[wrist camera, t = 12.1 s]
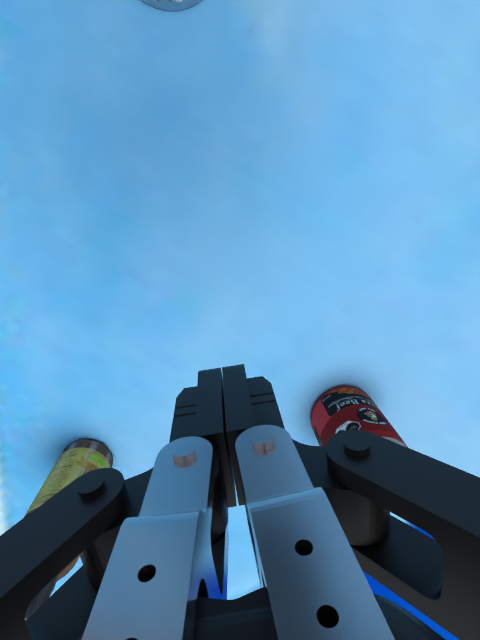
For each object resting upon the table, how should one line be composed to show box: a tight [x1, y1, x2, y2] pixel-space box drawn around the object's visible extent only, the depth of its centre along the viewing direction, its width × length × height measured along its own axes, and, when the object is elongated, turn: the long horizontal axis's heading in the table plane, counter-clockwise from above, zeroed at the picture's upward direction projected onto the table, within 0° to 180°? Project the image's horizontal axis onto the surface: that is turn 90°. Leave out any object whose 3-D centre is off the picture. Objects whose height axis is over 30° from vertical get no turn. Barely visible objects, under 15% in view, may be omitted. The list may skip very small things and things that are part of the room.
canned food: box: [311, 386, 408, 448], centre depth 42 cm, size 8×8×11 cm
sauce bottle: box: [24, 439, 113, 620], centre depth 37 cm, size 6×6×20 cm
